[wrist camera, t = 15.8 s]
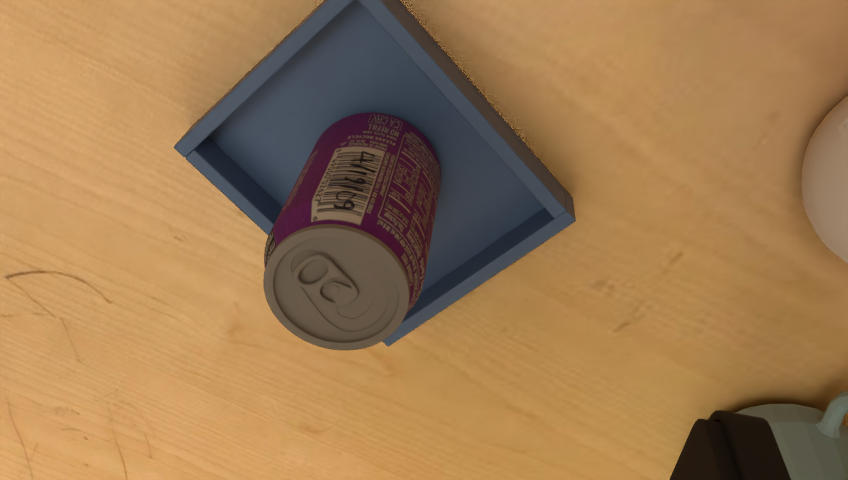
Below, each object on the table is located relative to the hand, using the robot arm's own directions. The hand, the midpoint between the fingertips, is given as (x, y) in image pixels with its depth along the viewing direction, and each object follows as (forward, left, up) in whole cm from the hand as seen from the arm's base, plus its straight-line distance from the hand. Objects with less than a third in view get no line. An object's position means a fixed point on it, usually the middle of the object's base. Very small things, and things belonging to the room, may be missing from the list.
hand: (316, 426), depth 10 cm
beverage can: (+6, -11, -32) cm, 34 cm away
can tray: (+6, -11, -32) cm, 35 cm away
